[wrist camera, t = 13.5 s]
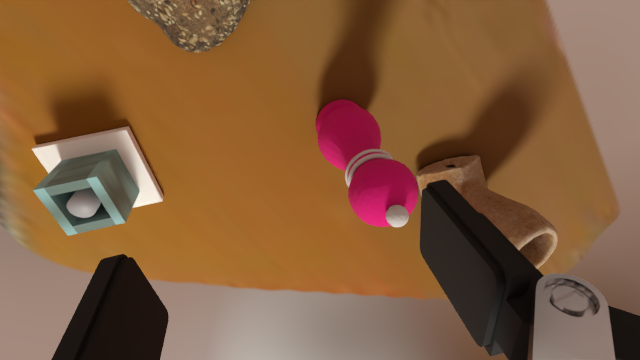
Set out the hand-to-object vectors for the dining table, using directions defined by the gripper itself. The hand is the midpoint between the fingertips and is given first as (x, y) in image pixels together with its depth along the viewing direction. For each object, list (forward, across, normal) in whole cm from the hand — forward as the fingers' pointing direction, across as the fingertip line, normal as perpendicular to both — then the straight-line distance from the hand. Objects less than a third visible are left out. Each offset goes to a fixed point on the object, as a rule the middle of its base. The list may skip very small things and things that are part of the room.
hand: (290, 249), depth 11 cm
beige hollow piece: (+31, -25, +25) cm, 47 cm away
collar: (+29, +21, +10) cm, 37 cm away
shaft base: (+30, +21, +10) cm, 38 cm away
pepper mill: (+31, -8, +10) cm, 33 cm away
